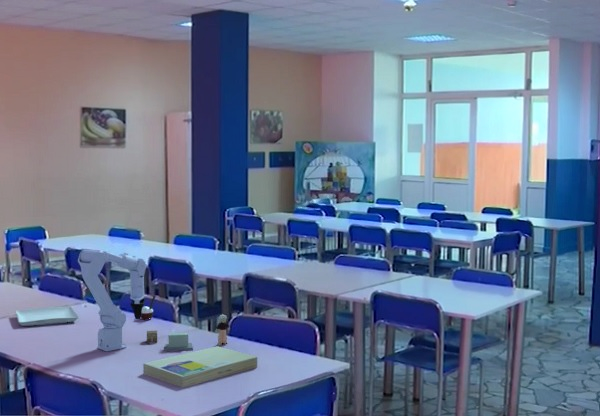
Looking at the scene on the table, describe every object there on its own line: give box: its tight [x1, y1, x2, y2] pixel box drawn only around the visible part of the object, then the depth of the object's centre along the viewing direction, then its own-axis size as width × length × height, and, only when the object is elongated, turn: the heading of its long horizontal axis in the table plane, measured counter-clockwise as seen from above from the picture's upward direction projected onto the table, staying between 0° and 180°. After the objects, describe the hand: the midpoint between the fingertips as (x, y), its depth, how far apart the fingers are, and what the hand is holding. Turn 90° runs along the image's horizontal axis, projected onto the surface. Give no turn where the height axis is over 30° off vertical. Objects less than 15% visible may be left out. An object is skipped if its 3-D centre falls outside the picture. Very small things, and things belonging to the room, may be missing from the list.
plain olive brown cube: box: [146, 330, 158, 344], centre depth 320 cm, size 5×4×4 cm
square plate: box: [14, 306, 80, 327], centre depth 361 cm, size 27×27×4 cm
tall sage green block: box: [168, 331, 189, 347], centre depth 310 cm, size 8×4×5 cm, turn 101°
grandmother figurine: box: [214, 313, 231, 346], centre depth 317 cm, size 8×4×13 cm, turn 143°
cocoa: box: [140, 295, 156, 320], centre depth 364 cm, size 10×6×12 cm, turn 44°
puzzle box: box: [142, 345, 258, 389], centre depth 278 cm, size 36×5×24 cm
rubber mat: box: [164, 342, 194, 352], centre depth 310 cm, size 11×8×1 cm
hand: (138, 316), depth 321 cm, fingers open, 7 cm apart
